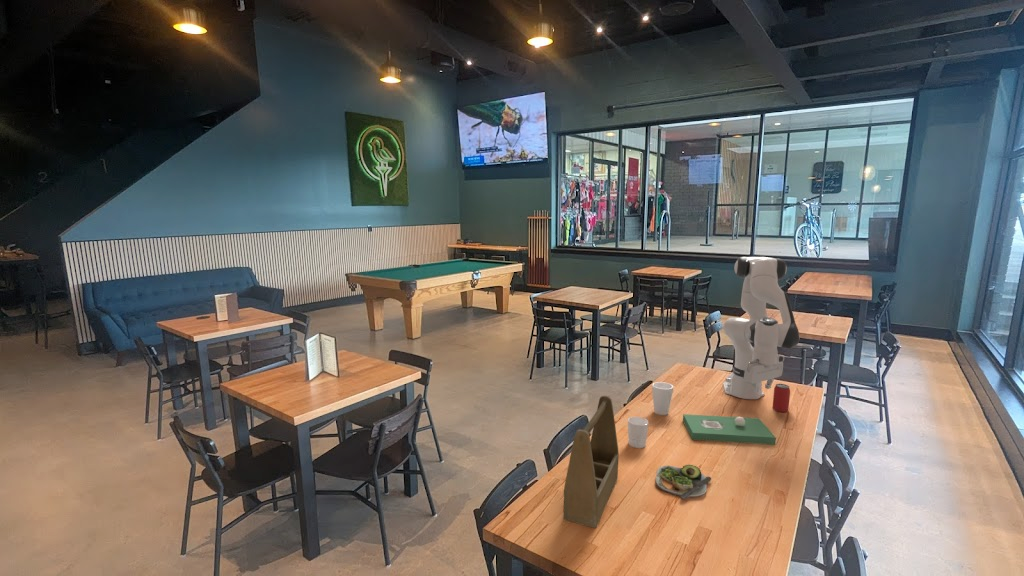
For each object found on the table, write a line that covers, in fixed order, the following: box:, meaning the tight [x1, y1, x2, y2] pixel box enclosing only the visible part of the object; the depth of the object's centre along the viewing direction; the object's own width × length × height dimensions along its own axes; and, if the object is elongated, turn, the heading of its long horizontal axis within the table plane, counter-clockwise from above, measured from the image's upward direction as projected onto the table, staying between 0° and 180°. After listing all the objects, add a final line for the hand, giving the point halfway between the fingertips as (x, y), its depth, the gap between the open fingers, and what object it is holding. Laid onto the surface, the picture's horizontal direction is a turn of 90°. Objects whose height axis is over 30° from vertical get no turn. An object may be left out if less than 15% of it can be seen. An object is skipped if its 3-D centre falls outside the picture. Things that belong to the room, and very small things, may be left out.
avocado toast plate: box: [655, 464, 712, 500], centre depth 161 cm, size 19×18×5 cm
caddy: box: [562, 395, 620, 529], centre depth 152 cm, size 29×11×30 cm, turn 155°
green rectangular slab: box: [682, 413, 777, 445], centre depth 201 cm, size 18×32×3 cm, turn 82°
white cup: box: [627, 416, 649, 449], centre depth 190 cm, size 8×8×10 cm
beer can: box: [772, 383, 791, 413], centre depth 222 cm, size 7×7×12 cm
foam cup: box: [651, 381, 674, 416], centre depth 220 cm, size 10×9×13 cm
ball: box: [735, 416, 745, 426], centre depth 199 cm, size 4×4×4 cm
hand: (761, 390), depth 196 cm, fingers open, 7 cm apart
